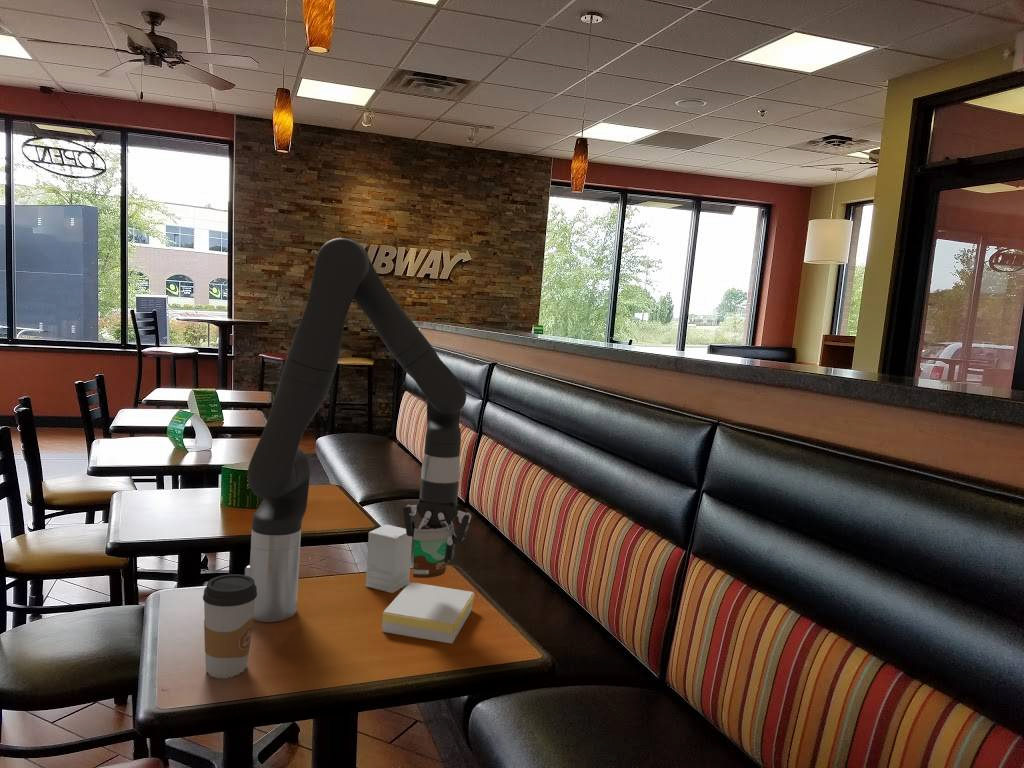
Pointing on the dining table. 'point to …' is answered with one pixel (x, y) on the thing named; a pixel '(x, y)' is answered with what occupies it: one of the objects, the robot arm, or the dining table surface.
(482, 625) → the dining table surface
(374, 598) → the dining table surface
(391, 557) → the supplement box
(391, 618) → the white flat block
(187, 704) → the dining table surface
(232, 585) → the coffee cup
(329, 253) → the robot arm
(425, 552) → the food container
